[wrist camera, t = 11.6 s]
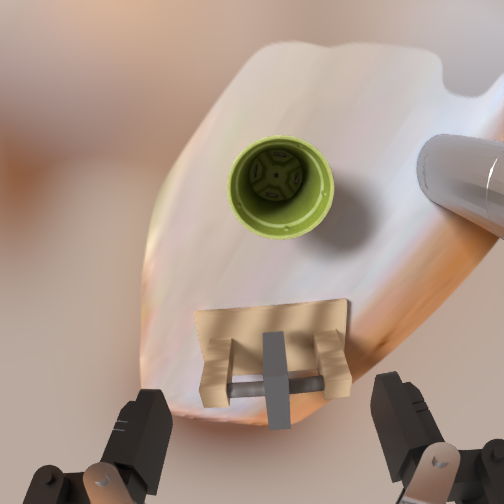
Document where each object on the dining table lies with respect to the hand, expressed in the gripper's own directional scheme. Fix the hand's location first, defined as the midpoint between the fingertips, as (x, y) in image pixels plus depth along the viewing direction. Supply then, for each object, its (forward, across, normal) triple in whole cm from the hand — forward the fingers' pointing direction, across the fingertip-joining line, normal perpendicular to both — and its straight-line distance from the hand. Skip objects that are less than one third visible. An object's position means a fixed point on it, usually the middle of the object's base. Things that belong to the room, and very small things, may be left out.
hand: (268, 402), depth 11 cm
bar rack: (+28, 0, +18) cm, 33 cm away
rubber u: (+24, 0, +18) cm, 30 cm away
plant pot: (+28, -2, -4) cm, 29 cm away
